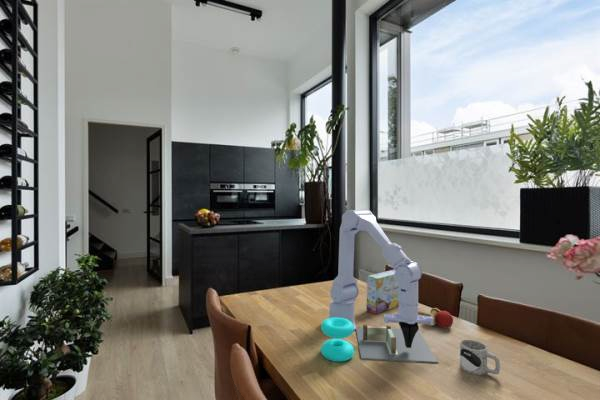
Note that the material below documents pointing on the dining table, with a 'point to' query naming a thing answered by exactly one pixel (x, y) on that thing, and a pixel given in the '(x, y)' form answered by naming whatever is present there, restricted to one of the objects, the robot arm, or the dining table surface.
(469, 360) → the mug
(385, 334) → the fence fixed
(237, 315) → the dining table surface
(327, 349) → the donuts
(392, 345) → the fence gate
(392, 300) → the snack box
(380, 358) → the card
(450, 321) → the kendama
